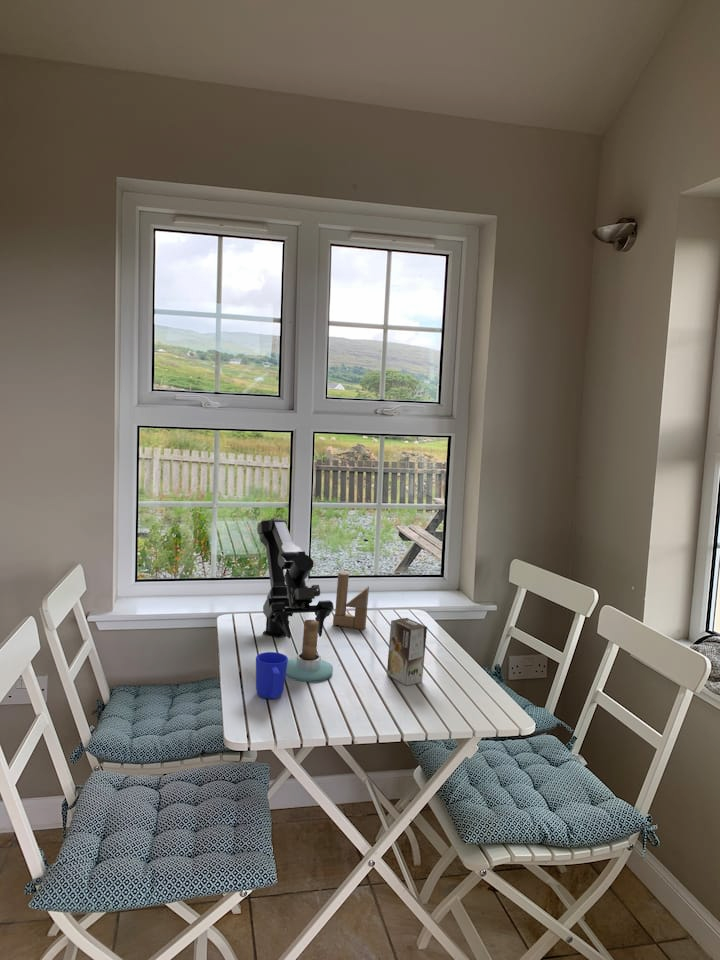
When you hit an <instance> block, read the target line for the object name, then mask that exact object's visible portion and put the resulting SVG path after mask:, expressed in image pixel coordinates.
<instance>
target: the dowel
mask: <svg viewBox="0 0 720 960" xmlns="http://www.w3.org/2000/svg"><path fill="white" fill-rule="evenodd" d="M318 624H319V622H318V621H316V620H315V619H306V620H304V622H303V635H302V649H301V653H302V659H304V660H316V653H317V649H318V648H317V647H318V638H319V637H318V636H319V634H318Z"/></svg>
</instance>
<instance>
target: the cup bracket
mask: <svg viewBox="0 0 720 960" xmlns="http://www.w3.org/2000/svg"><path fill="white" fill-rule="evenodd" d="M333 672H334V667H333V665H332V664H331V663H330V662H328V661H326V660H323V659H322V657H321V655H320V654H319V653H317V652H316V660H304V659H302V652H299V653H297V654H296V658H295V657H294V658H290V659H288V663H287V669H286V676H285V677H287V678H289V679H291V678H292V680H294V679H295V680H294V681H298V680H300V681H299V682H304V681H305V682H307V683H315V682H314V681H318V682H322V681H326V680H328V679H330V678H332V676H333Z"/></svg>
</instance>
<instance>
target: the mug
mask: <svg viewBox="0 0 720 960" xmlns="http://www.w3.org/2000/svg"><path fill="white" fill-rule="evenodd" d="M288 660H289V658H288V656H287V655H285V654H283V653H281V652H274V651H268V652H267V651H266V652H261V653H259V654H257V655H256V656H255V690H256V694H257V695H258V696H259V697H261V698H262V699H269V700H273V699H277V698H279V697H281V696H282V694H283V692H284V688H285V682H286V677H287V676H286V669H287V663H288Z"/></svg>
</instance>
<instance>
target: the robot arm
mask: <svg viewBox="0 0 720 960" xmlns="http://www.w3.org/2000/svg"><path fill="white" fill-rule="evenodd" d="M287 524H288V523H287V520H286V519H285V518H282V517H281V518H280V517H279V518H277V517H275V518H270V519H268V520H265V519H263V520H261V521H260V522H259V523H257V527H256V529H257V530H256V531H257V534H258V536H259V542H261V544H262V545H264V547H265V549H266V550H265V551H266V558H267V567H268V575H269V581H270V582H269V583H270V590H269V592H268V593H267V595H266V599H265V602H264V604H263V606H262V613H263V615H264V616H265V617H266V623H265V630H264V631H262V634H264V635H266V636H271V637H275V638H277V639H278V638H279V639H281V638H282V637H284V636H287V638H288V639H291V637H292V634H291V629H290V620H289V617H293V615H294V614H302V613H314V615H315V618H314V620H316V621H318V622H319V624H318V636H319V637H322V636H323V630H324V629H323V628H324V622H325V620H326V618H327V617H330V615H331V613H332V612H333V611H334V608H335V607H334V602H332V600H326V599H325V600H318V602H317V604H313V605H311V604H312V602H313V600H315V599H316V597H319V596H320V595H321V588H320V585H319V584H312V585H311V587H308V585H307V584H306V579H307V578H308V576H309V575H310V573H311V571H312V569H313V568H314V563H315V562H314V560H313V559H312V557H311V556H309V555H307V554H306V551H303V550H302V549H301V547H300V546H298V545H296V544H294V541H293V538H292V536H291V534H290V531H289V528H288V526H287ZM284 570H287V571H286V572H284ZM319 637H318V638H319Z"/></svg>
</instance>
